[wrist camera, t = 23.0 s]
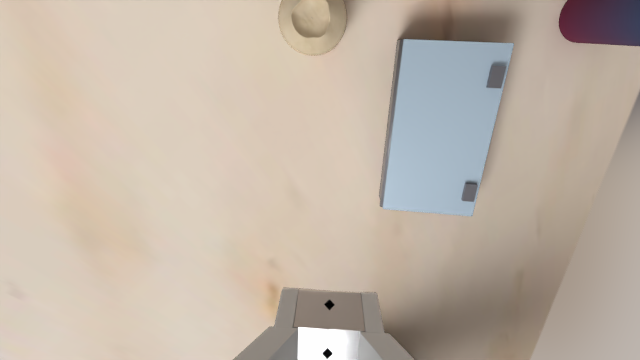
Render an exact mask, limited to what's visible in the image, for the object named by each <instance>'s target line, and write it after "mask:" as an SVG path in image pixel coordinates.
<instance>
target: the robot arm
mask: <svg viewBox="0 0 640 360" xmlns="http://www.w3.org/2000/svg"><path fill="white" fill-rule="evenodd" d="M233 360H414V358H413V357H412V356H411V355H410V354H409V353H408V352H407V351H406V350H405V349H404V348H403V347H402V346H401V345H400V344H399V343H398V342H397V341H396V340H395V339H394V338H393V337H392V336H391V335H390V334H389V333H385V332H384V327H383V322H382V317H381V311H380V306H379V301H378V295H377V293H376V292H347V291H328V290H315V289H302V288H299V289H298V288H286V287H283V289H282V292H281V297H280V301H279V306H278V311H277V316H276V320H275V325H274V327H268V328H267V329H266V330H265V331H264V332H263V333H262V334H261V335H260V336H258V337H257V338H256V339H255V340H254V341H253V342H252V343H251V344H250V345H249V346H247V347H246V348H245V349H244V350H243V351H242V352H241V353H240V354H239V355H238V356H237V357H235V358H234V359H233Z"/></svg>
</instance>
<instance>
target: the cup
mask: <svg viewBox="0 0 640 360" xmlns="http://www.w3.org/2000/svg"><path fill="white" fill-rule="evenodd" d="M559 28H560V31H561V33H562V35H563V36H564V37H565V38H566V39H567V40H569V41H571V42H576V43H592V44H610V45H627V46H640V0H568V1H567V2H566V4H565V5H564V7H563V9H562V11H561V14H560V18H559Z"/></svg>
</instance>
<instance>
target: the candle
mask: <svg viewBox="0 0 640 360" xmlns="http://www.w3.org/2000/svg"><path fill="white" fill-rule="evenodd" d="M278 19H279V27H280V30H281V33H282V35H283V37H284V39H285V41H286V42H287V43H288V44H289V45H290V46H291V47H292V48H293V49H294V50H296V51H297V52H299V53H302V54H305V55H311V56H315V55H321V54H325V53H327V52H329V51H331V50H332V49H333V48H335V47H336V45H337V44H338V43H339V41H340V40H341V38H342V36H343V34H344V31H345V28H346V22H347V13H346V7H345V4H344V1H343V0H282V1H281V4H280V8H279V15H278Z"/></svg>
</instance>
